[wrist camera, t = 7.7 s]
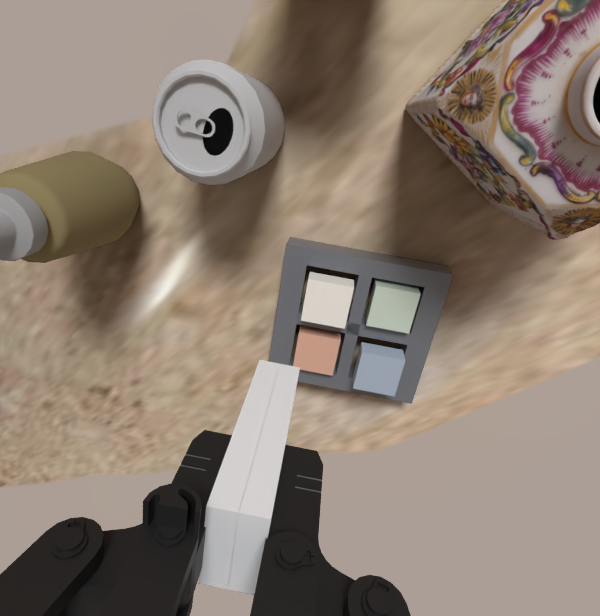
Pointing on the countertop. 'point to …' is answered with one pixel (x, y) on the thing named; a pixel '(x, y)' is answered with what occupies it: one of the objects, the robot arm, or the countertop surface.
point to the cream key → (327, 300)
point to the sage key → (392, 305)
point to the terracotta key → (317, 350)
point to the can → (216, 122)
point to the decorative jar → (524, 112)
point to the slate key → (378, 369)
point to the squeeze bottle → (64, 206)
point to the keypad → (359, 310)
